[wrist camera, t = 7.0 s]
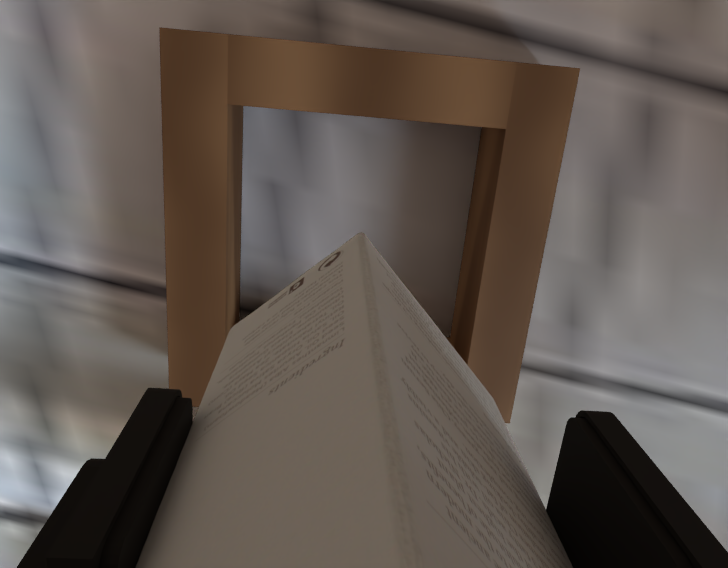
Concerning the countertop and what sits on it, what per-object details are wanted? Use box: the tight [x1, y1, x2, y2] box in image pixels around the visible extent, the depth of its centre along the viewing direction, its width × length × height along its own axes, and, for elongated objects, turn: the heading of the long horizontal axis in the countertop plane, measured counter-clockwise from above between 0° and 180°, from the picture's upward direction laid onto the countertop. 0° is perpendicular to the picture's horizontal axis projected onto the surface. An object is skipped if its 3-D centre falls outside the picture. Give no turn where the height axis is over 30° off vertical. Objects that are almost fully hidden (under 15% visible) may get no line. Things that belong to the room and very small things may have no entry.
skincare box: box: [135, 233, 573, 568], centre depth 9 cm, size 6×4×12 cm
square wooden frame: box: [160, 28, 580, 423], centre depth 26 cm, size 16×16×4 cm
